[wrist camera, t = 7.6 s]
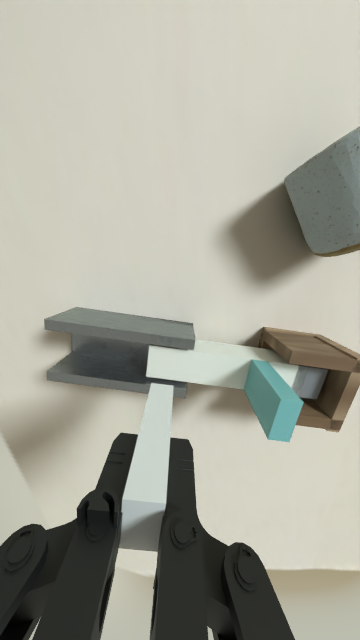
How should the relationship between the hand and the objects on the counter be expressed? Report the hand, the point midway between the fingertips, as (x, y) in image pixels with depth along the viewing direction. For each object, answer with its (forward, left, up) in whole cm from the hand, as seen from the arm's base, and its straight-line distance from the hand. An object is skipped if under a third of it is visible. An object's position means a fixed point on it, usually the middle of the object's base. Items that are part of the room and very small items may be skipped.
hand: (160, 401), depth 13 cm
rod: (+1, +7, -10) cm, 12 cm away
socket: (+1, +14, -11) cm, 18 cm away
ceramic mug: (-18, +14, -12) cm, 25 cm away
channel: (+1, -5, -11) cm, 12 cm away
